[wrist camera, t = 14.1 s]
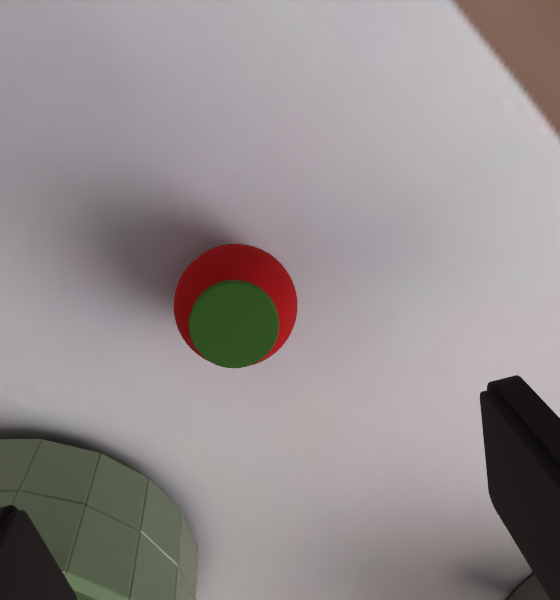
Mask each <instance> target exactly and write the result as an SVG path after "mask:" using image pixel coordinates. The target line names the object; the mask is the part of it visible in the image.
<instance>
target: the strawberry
mask: <svg viewBox="0 0 560 600" xmlns="http://www.w3.org/2000/svg"><path fill="white" fill-rule="evenodd" d="M174 315H175V320H176V324H177V327H178V330H179V332H180V334H181V336H182V337H183V339H184V340H185V342H186V343H187V344H188V345H189V347H190V348H191V349H192V350H193V351H194V352H196V353H197V354H198V355H199V356H201V357H202V358H204V359H206V360H208V361H210V362H212V363H214V364H216V365H219V366H222V367H227V368H241V367H246V366H250V365H253V364H257V363H259V362H261V361H263V360H265V359H267V358H269V357H270V356H271V355H273V354H274V353H275V352H277V351H278V350H279V349H280V348H281V347H282V346H283V344H284V343H285V342H286V340H287V339H288V337H289V335H290V334H291V331H292V329H293V327H294V324H295V320H296V315H297V296H296V291H295V287H294V284H293V282H292V280H291V278H290V276H289V274H288V273H287V271H286V269H285V268H284V267H283V266H282V264H281V263H280V262H279V261H278V260H276V259H275V258H274V257H273V256H271V255H270V254H269V253H267V252H265V251H263V250H261V249H258V248H256V247H253V246H249V245H242V244H228V245H222V246H218V247H215V248H213V249H210V250H208V251H206V252H204V253H203V254H201V255H200V256H198V257H197V258H196V259H195V260H194V261H193V262H192V263H191V264H190V265H189V266H188V267H187V268H186V270H185V271H184V272H183V274H182V276H181V278H180V280H179V282H178V285H177V287H176V291H175V296H174Z"/></svg>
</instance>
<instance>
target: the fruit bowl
mask: <svg viewBox="0 0 560 600" xmlns="http://www.w3.org/2000/svg"><path fill="white" fill-rule="evenodd" d="M7 505H13V506H15V507H17V509H18V510H24V511H26V513H27V514H28V516H29V517H30V519H31V521H32V522H33V524H34V526H35V527H36V529H37V531H38V532H39V534H40V536H41V537H42V539H43V541H44V542H45V544H46V546H47V547H48V549H49V551H50V552H51V554H52V556H53V557H54V559H55V561H56V562H57V564H58V566H59V567H60V569H61V571H62V572H63V574H64V576H65V577H66V579H67V581H68V582H69V584H70V586H71V587H72V589H73V591H74V592H75V594H76V596H77V599H78V600H196V593H197V554H198V548H197V545H196V542H195V540H194V538H193V536H192V533H191V531H190V529H189V526H188V524H187V522H186V520H185V517H184V515H183V513H182V511H181V509H180V508H179V507H178V506H177V505H176V504H175V503H174V502H173V501H172V500H171V499H170V498H169V497H168V496H167V495H166V494H165V493H164V492H163V491H162V490H161V489H160V488H159V487H158V486H157V485H155V484H154V483H153V482H152V481H151V480H150V479H149V478H147V477H146V476H144V475H142V474H140V473H138V472H136V471H134V470H133V469H131V468H129V467H127V466H125V465H123V464H121V463H119V462H117V461H115V460H114V459H112V458H110V457H108V456H106V455H104V454H102V453H101V454H100V453H99V452H95V451H91V450H87V449H82V448H78V447H74V446H69V445H65V444H61V443H57V442H52V441H48V440H41V439H0V507H3V506H7Z"/></svg>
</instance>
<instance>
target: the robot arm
mask: <svg viewBox="0 0 560 600" xmlns="http://www.w3.org/2000/svg"><path fill="white" fill-rule="evenodd" d="M480 404H481V414H482V425H483V436H484V446H485V457H486V467H487V478H488V489H489V494H490V498H491V501H492V503H493V506H494V508H495V510H496V511H497V513H498V515H499V516H500V518H501V520H502V521H503V523H504V525H505V526H506V528H507V529H508V531H509V533H510V534H511V536H512V538H513V539H514V541H515V543H516V544H517V546H518V548H519V549H520V551H521V553H522V554H523V556H524V557H525V559H526V561H527V562H528V564H529V566H530V567H531V569H532V571H533V572H534V574H535V576H536V577H537V579H538V581H539V582H540V584H541V585H542V587H543V589H544V590H545V592H546V594H547V595H548V597H549V599H550V600H560V418H559V417H558V416H557V415H556V414H555V413H554V412H553V411H552V410H551V409H550V408H549V407H548V406H547V404H546V403H545V402H544V401H543V400H542V399H541V398H540V397H539V396H538V395H537V394H536V393H535V392H534V391H533V390H532V389H531V387H530V386H529V385H528V384H527V383H526V382H525V381H524V380H523V379H522V378H521V377H519V376H517V375H516V376H512V377H508V378H504V379H500V380H496V381H492V382H489V383H488V386H487V391H483V392H481V393H480ZM0 600H78V599H77V596H76V594H75V592H74V591H73V589H72V587H71V586H70V584H69V582H68V581H67V579H66V577H65V576H64V574H63V572H62V571H61V569H60V567H59V566H58V564H57V562H56V561H55V559H54V557H53V556H52V554H51V552H50V551H49V549H48V547H47V546H46V544H45V542H44V541H43V539H42V537H41V536H40V534H39V532H38V531H37V529H36V527H35V526H34V524H33V522H32V521H31V519H30V517H29V516H28V514H27V513H26V511H24V510H18V509H17V507H15V506H13V505H7V506H3V507H0Z"/></svg>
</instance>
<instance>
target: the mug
mask: <svg viewBox="0 0 560 600" xmlns="http://www.w3.org/2000/svg"><path fill="white" fill-rule="evenodd" d="M508 600H550V599H549V597H548V595H547V594H546V592H545V590H544V589H543V587H542V585H541V584H540V582H539V581H538V579H537V577H536V576H535V574H534V575H533V576H531V577H530V578H529V579H527V580H526V581H525V582H524V583H523V584H521V585H520V586H519V587H518V588H517V589H516V590H515V591H514V593H513V594H512V595H511V596H510V598H509V599H508Z"/></svg>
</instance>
